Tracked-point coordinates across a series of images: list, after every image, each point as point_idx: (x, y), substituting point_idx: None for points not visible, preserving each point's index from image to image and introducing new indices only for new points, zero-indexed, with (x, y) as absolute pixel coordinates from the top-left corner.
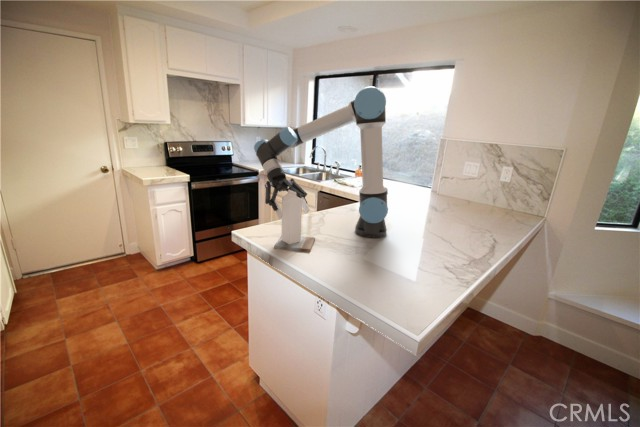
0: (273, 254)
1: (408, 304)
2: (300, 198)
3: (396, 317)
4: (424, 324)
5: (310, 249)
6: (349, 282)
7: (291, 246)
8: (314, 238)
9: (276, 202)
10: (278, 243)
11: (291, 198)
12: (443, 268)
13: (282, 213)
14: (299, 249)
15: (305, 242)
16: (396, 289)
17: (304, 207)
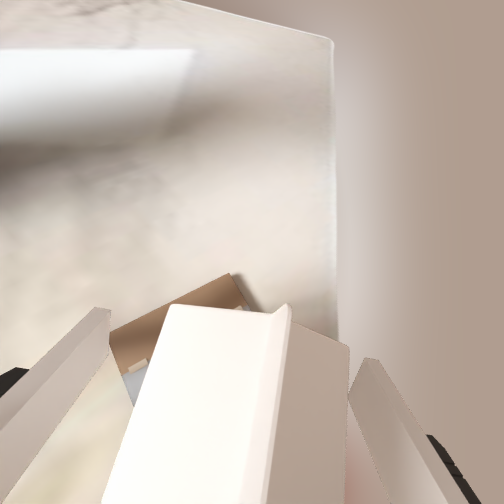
0: None
1: (276, 51)
2: (195, 307)
3: (319, 58)
4: (304, 35)
5: (224, 276)
6: (291, 128)
7: None
8: (116, 330)
9: (459, 498)
10: None
11: (323, 362)
12: (93, 16)
13: (373, 369)
14: (249, 309)
15: None
16: (248, 67)
17: (82, 371)
